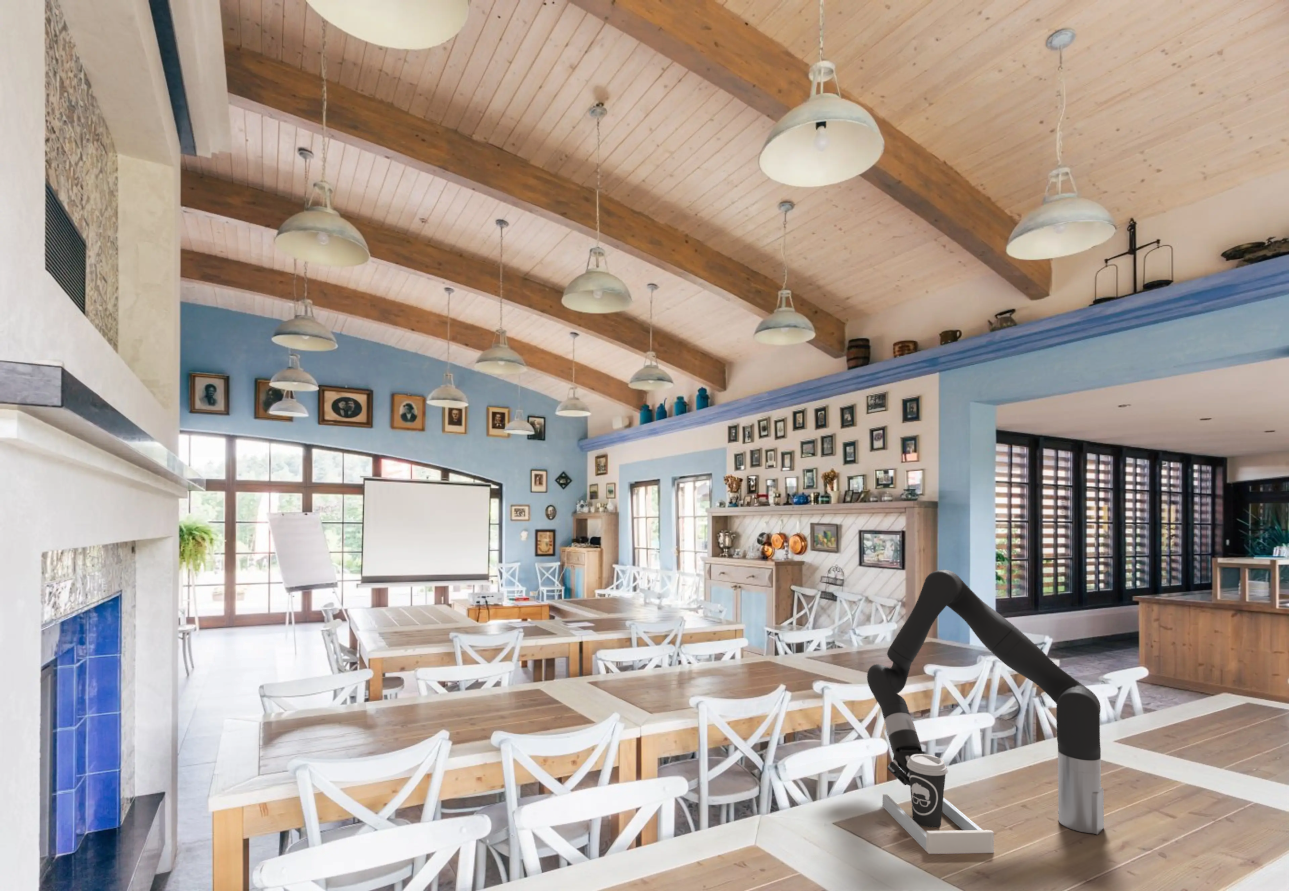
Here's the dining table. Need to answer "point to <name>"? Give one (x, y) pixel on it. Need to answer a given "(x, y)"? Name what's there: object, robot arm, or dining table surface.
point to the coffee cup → (927, 788)
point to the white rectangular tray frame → (945, 841)
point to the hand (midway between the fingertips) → (922, 800)
